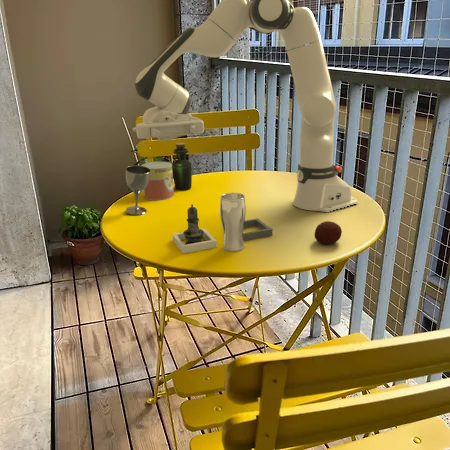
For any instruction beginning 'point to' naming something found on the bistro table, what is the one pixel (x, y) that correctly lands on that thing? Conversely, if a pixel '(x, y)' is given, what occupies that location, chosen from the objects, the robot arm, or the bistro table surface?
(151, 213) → the bistro table surface
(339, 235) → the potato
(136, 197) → the wine glass
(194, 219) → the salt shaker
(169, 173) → the canned food
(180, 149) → the potion bottle
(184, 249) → the pale socket
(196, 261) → the bistro table surface
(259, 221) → the dark socket
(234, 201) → the beer glass
